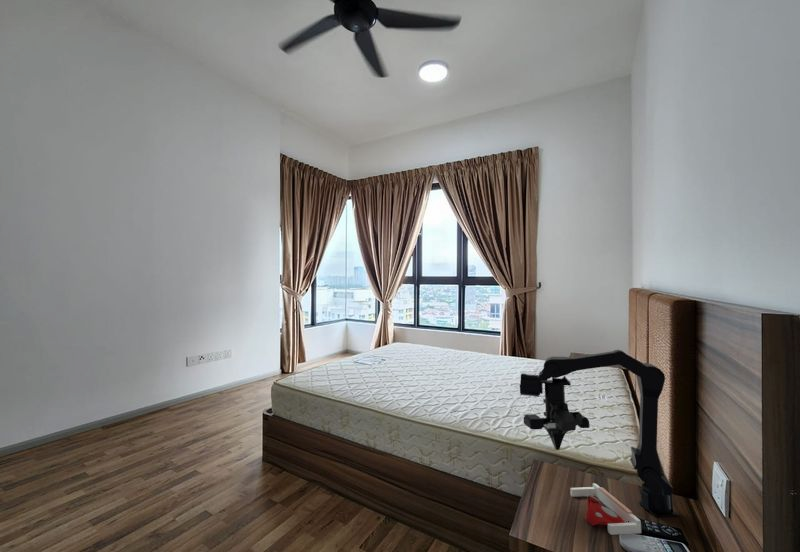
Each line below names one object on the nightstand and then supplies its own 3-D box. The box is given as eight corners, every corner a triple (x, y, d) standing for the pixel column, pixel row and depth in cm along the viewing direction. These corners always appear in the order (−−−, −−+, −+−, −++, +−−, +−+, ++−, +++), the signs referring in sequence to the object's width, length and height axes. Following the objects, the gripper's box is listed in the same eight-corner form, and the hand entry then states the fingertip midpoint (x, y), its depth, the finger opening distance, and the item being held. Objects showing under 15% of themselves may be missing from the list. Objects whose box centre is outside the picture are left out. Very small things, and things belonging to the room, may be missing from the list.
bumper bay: (596, 493, 104) (595, 482, 104) (641, 533, 86) (640, 518, 86) (570, 494, 103) (570, 483, 103) (610, 534, 85) (609, 520, 86)
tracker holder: (634, 522, 89) (611, 523, 84) (629, 538, 89) (605, 540, 85) (592, 488, 100) (569, 488, 95) (587, 503, 100) (564, 503, 96)
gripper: (537, 406, 100) (539, 462, 98) (599, 404, 101) (602, 460, 100) (522, 396, 111) (523, 446, 110) (577, 395, 112) (580, 444, 111)
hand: (557, 449), depth 107 cm, fingers closed
